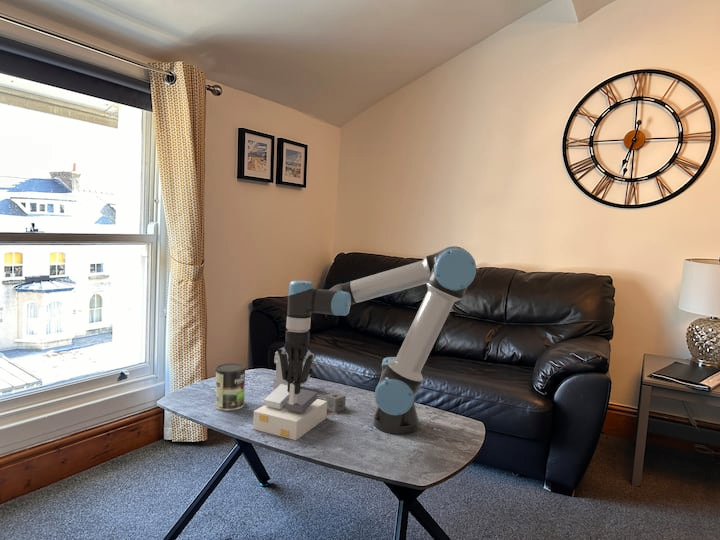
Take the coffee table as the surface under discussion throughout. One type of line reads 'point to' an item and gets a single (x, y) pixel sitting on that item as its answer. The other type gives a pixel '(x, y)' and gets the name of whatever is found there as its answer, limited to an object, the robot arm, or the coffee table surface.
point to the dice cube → (335, 402)
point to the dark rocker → (302, 401)
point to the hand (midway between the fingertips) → (292, 403)
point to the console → (289, 420)
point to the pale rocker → (277, 397)
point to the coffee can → (230, 386)
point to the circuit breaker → (279, 378)
